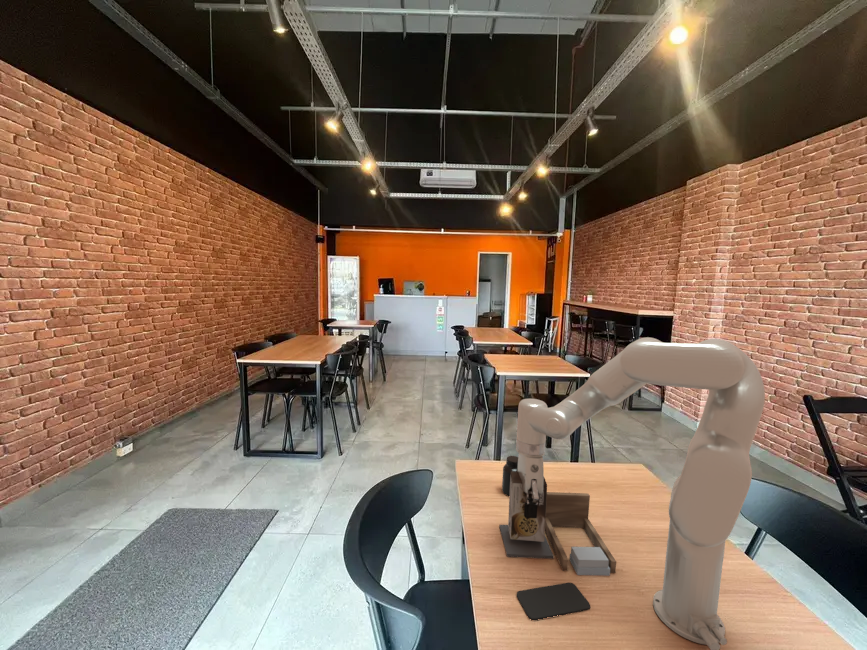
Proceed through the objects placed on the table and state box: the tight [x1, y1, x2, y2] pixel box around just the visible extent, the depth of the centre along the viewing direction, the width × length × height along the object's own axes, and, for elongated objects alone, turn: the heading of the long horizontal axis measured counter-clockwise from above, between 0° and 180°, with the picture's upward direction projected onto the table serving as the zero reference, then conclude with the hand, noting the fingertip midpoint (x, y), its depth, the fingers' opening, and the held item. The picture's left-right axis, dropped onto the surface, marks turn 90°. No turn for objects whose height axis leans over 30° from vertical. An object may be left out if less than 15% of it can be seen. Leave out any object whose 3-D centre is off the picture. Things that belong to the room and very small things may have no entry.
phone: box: [515, 581, 591, 621], centre depth 81 cm, size 7×1×15 cm
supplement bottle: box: [501, 455, 518, 497], centre depth 125 cm, size 7×7×12 cm
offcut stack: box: [569, 546, 611, 577], centre depth 92 cm, size 5×8×4 cm, turn 91°
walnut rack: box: [545, 491, 617, 574], centre depth 99 cm, size 18×13×10 cm
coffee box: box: [507, 471, 548, 542], centre depth 99 cm, size 9×6×16 cm
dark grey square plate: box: [498, 524, 555, 560], centre depth 100 cm, size 12×12×1 cm
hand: (526, 508), depth 99 cm, fingers closed on coffee box, 6 cm apart
